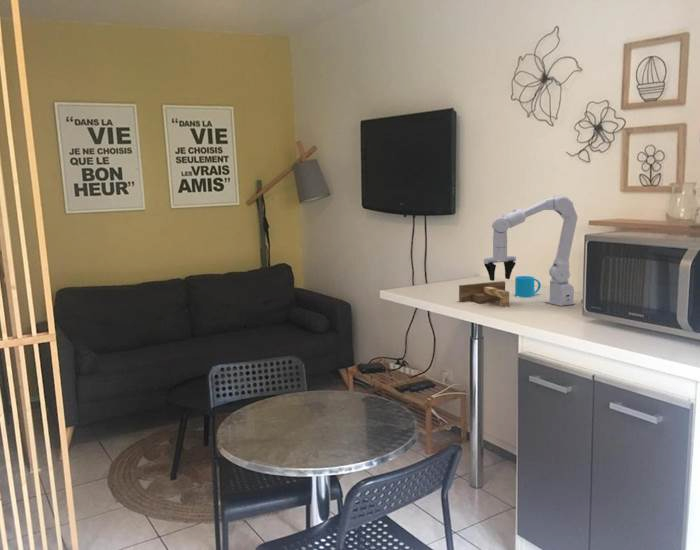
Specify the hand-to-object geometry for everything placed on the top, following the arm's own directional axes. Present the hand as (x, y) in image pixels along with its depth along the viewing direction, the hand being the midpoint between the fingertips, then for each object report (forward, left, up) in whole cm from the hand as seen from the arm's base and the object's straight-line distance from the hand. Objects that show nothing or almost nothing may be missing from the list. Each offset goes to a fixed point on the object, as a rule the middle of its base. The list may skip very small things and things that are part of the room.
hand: (499, 279), depth 263 cm
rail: (0, +1, -10) cm, 10 cm away
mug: (+9, -21, -10) cm, 26 cm away
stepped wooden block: (+7, +2, -10) cm, 12 cm away
